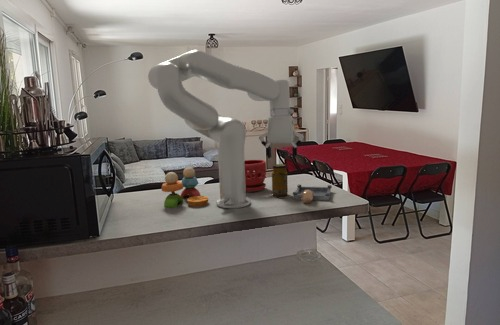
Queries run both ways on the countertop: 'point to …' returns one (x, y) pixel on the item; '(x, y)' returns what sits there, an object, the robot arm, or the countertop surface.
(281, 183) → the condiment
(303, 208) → the countertop surface
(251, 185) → the plant pot
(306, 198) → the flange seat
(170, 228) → the countertop surface
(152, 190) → the countertop surface
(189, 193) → the wooden stacking toy
